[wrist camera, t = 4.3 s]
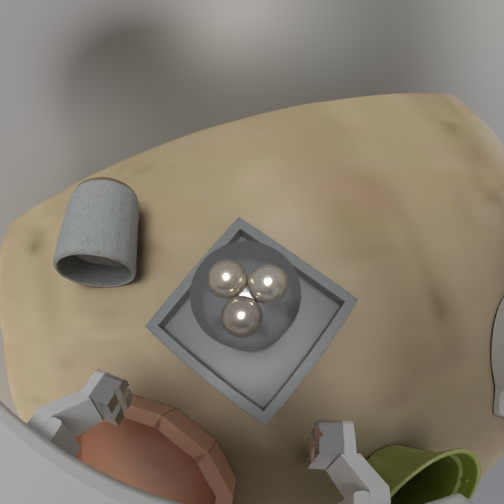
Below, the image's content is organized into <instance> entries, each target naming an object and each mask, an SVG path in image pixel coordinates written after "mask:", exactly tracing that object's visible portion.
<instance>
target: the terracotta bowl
mask: <svg viewBox="0 0 504 504" xmlns="http://www.w3.org/2000/svg"><path fill="white" fill-rule="evenodd" d="M123 412H124V418H123V419H122V421H121V423H120V425H119V426H117V425H114V424H112V423H109V422H107V421H105V420H103V421H102V422H101V423H99V424H97V425H96V426H94V427H92V428H91V429H89V430H87V431H85V432H84V433H82V434H80V435H79V436H77V437H75V439H76V440H77V441H78V442H79V443H80V445H81V449H80V450H79V452H78V454H77V456H76V458H77V459H79V460H80V461H82V462H84V463H86V464H87V465H89V466H91V467H93V468H95V469H97V470H99V471H101V472H103V473H105V474H107V475H109V476H111V477H113V478H115V479H117V480H119V481H121V482H124V483H126V484H128V485H131V486H133V487H136V488H138V489H141V490H143V491H146V492H148V493H151V494H154V495H157V496H160V497H163V498H166V499H169V500H172V501H175V502H178V503H182V504H233V500H234V494H235V488H236V482H237V478H236V476H235V474H234V472H233V471H232V469H231V467H230V465H229V463H228V461H227V459H226V457H225V455H224V453H223V451H222V449H221V447H220V445H219V443H218V441H217V440H216V439H215V438H214V437H213V436H211V435H210V434H209V433H207V432H206V431H205V430H203V429H202V428H201V427H199V426H198V425H197V424H196V423H194V422H193V421H192V420H191V419H189V418H188V417H187V416H186V415H184V414H183V413H182V412H181V411H180V410H179V409H177V408H176V407H172V406H168V405H164V404H161V403H157V402H154V401H150V400H147V399H144V398H141V397H138V396H135V395H132V402H131V405H130V407H129V409H127V410H125V411H123Z"/></svg>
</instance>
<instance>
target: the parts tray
mask: <svg viewBox="0 0 504 504" xmlns="http://www.w3.org/2000/svg"><path fill="white" fill-rule="evenodd" d="M241 241H252V242H258V243H262V244H265V245H268V246H270V247H272V248H274V249H276V250H277V251H279V252H280V253H281V254H283V255H284V256H285V257H286V258H287V259H288V260H289V262H290V263H291V264H292V266H293V267H294V269H295V271H296V273H297V275H298V278H299V281H300V285H301V303H300V308H299V311H298V314H297V316H296V318H295V320H294V322H293V324H292V325H291V327H290V328H289V329H288V330H287V331H286V332H285V334H284V335H283V336H282V337H281V338H280V339H279V340H278V341H277V342H276V343H275V344H274V345H273V346H271V347H270V348H268V349H266V350H263V351H260V352H244V351H240V350H237V349H234V348H231V347H228V346H225V345H222V344H220V343H218V342H217V341H215V340H213V339H212V338H211V337H209V336H208V335H207V334H206V333H205V332H204V331H203V330H202V328H201V327H200V326H199V324H198V323H197V321H196V319H195V317H194V315H193V312H192V308H191V303H190V289H191V283H192V280H193V277H194V275H195V272H196V270H197V269H198V267H199V265H200V264H201V263H202V262H203V260H204V259H205V258H206V257H207V256H208V255H210V254H211V253H212V252H213V251H215V250H217V249H218V248H220V247H222V246H225V245H227V244H230V243H234V242H241ZM357 300H358V299H357V298H356V297H354V296H353V295H351V294H350V293H349V292H347V291H346V290H344V289H343V288H342V287H340V286H339V285H337V284H336V283H334V282H333V281H332V280H330V279H329V278H327V277H326V276H325V275H323V274H322V273H320V272H319V271H317V270H316V269H314V268H313V267H312V266H310V265H309V264H307V263H306V262H304V261H303V260H301V259H300V258H299V257H297V256H296V255H294V254H293V253H291V252H290V251H288V250H287V249H285V248H284V247H283V246H281V245H280V244H278V243H277V242H275V241H274V240H272V239H271V238H269V237H268V236H266V235H265V234H263V233H262V232H260V231H259V230H257V229H256V228H255V227H253V226H252V225H250V224H249V223H247V222H246V221H244V220H243V219H241V218H240V217H238V219H237V220H236V221H235V222H234V223H233V224H232V225H231V226H230V227H229V229H228V230H227V231H226V232H225V233H224V234H223V235H222V236H221V238H220V239H219V240H218V241H217V242H216V243H215V244H214V246H213V247H212V248H211V249H210V250H209V251H208V252H207V254H206V255H205V256H204V257H203V258H202V259H201V260H200V262H199V263H198V264H197V265H196V266H195V267H194V269H193V270H192V271H191V272H190V273H189V274H188V276H187V277H186V278H185V279H184V280H183V281H182V283H181V284H180V285H179V286H178V287H177V288H176V290H175V291H174V292H173V293H172V294H171V296H170V297H169V298H168V299H167V300H166V302H165V303H164V304H163V305H162V306H161V308H160V309H159V310H158V311H157V312H156V314H155V315H154V316H153V317H152V319H151V320H150V321H149V322H148V323H147V325H146V326H145V327H146V328H147V329H148V330H149V331H150V332H152V333H153V334H154V335H155V336H156V337H157V338H158V339H159V340H160V341H161V342H162V343H163V344H164V345H165V346H166V347H167V348H168V349H169V350H171V351H172V352H173V353H174V354H175V355H176V356H177V357H178V358H179V359H181V360H182V361H183V362H184V363H185V364H186V365H187V366H189V367H190V368H191V369H192V370H193V371H194V372H196V373H197V374H198V375H199V376H200V377H202V378H203V379H204V380H205V381H206V382H208V383H209V384H210V385H211V386H213V387H214V388H215V389H216V390H218V391H219V392H220V393H222V394H223V395H224V396H225V397H227V398H228V399H229V400H231V401H232V402H233V403H235V404H236V405H237V406H239V407H240V408H242V409H243V410H244V411H246V412H247V413H249V414H250V415H251V416H253V417H254V418H256V419H257V420H259V421H260V422H262V423H263V424H265V425H266V424H267V423H268V422H269V421H270V420H271V418H272V417H273V416H274V415H275V414H276V413H277V411H278V410H279V409H280V408H281V407H282V405H283V404H284V403H285V402H286V401H287V399H288V398H289V397H290V396H291V394H292V393H293V392H294V391H295V389H296V388H297V387H298V386H299V384H300V383H301V382H302V380H303V379H304V378H305V376H306V375H307V374H308V372H309V371H310V370H311V368H312V367H313V366H314V364H315V363H316V362H317V360H318V359H319V357H320V356H321V355H322V353H323V352H324V350H325V349H326V348H327V346H328V345H329V343H330V342H331V340H332V339H333V337H334V336H335V334H336V333H337V331H338V330H339V328H340V327H341V325H342V324H343V322H344V321H345V319H346V318H347V316H348V314H349V313H350V311H351V310H352V308H353V306H354V305H355V303H356V302H357Z"/></svg>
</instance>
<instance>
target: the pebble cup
mask: <svg viewBox="0 0 504 504" xmlns="http://www.w3.org/2000/svg"><path fill="white" fill-rule="evenodd" d="M190 303H191V308H192V312H193V315H194V317H195V319H196V321H197V323H198V324H199V326H200V327H201V328H202V330H203V331H204V332H205V333H206V334H207V335H208V336H209V337H211V338H212V339H213V340H215V341H217V342H218V343H220V344H222V345H225V346H228V347H231V348H234V349H237V350H240V351H244V352H260V351H263V350H266V349H268V348H270V347H271V346H273V345H274V344H275V343H276V342H277V341H278V340H279V339H280V338H281V337H282V336H283V335H284V334H285V332H286V331H287V330H288V329H289V328H290V327H291V325H292V324H293V322H294V320H295V318H296V316H297V314H298V311H299V308H300V303H301V285H300V281H299V278H298V275H297V273H296V271H295V269H294V267H293V266H292V264H291V263H290V262H289V260H288V259H287V258H286V257H285V256H284V255H283V254H281V253H280V252H279V251H277V250H276V249H274V248H272V247H270V246H268V245H265V244H262V243H258V242H252V241H241V242H234V243H230V244H227V245H225V246H222V247H220V248H218V249H217V250H215V251H213V252H212V253H211V254H210V255H208V256H207V257H206V258H205V259H204V260H203V262H202V263H201V264H200V265H199V267H198V269H197V270H196V272H195V275H194V277H193V280H192V283H191V289H190Z"/></svg>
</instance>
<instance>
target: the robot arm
mask: <svg viewBox="0 0 504 504" xmlns="http://www.w3.org/2000/svg"><path fill="white" fill-rule="evenodd" d="M492 369H493V376H494V381H495V399H494V414H495V415H497V416H501V417H504V298H503V299H502V301H501V303H500V306H499V308H498V311H497V315H496V318H495V323H494V329H493V336H492ZM128 386H129V384H128V382H127V380H124V379H121V378H119V377H116V376H113V375H111V374H109V373H107V372H104V371H102V370H99V369H98V370H96V371H95V372H94V373H93V375H92V376H91V377H90V379H89V380H88V381H87V383H86V384H85V385H84V387H83V388H82V390H81V391H80V392H74V393H72V394H70V395H67V396H65V397H62V398H60V399H57V400H55V401H52V402H50V403H47V404H44V405H42V406H40V407H39V408H38V410H37V411H36V412H35V414H34V415H33V416H32V418H31V419H30V421H29V422H28V423H27V424H26V423H25V422H24V421H23V420H21V419H20V418H19V417H18V416H17V415H15V414H14V413H13V412H12V411H11V410H10V409H9V408H7V407H6V406H5V405H4V404H3V403H2V402H1V401H0V504H182V503H178V502H175V501H172V500H169V499H166V498H163V497H160V496H157V495H154V494H151V493H148V492H146V491H143V490H141V489H138V488H136V487H133V486H131V485H128V484H126V483H124V482H121V481H119V480H117V479H115V478H113V477H111V476H109V475H107V474H105V473H103V472H101V471H99V470H97V469H95V468H93V467H91V466H89V465H87V464H86V463H84V462H82V461H80V460H79V459H77V458H76V456H77V454H78V452H79V450H80V449H81V445H80V443H79V442H78V441H77V440H76V439H75V437H77V436H79V435H80V434H82V433H84V432H85V431H87V430H89V429H91V428H92V427H94V426H96V425H97V424H99V423H101V422H102V421H103V420H105V421H107V422H109V423H112V424H114V425H117V426H119V425H120V423H121V421H122V419H123V418H124V412H123V411H125V410H127V409H129V407H130V405H131V402H132V393H131V391H130V390H129V389H128V388H127V387H128ZM308 448H309V450H310V451H311V452H310V453H309V455H308V456H307V469H326V471H327V473H328V475H329V476H330V478H331V479H332V481H333V482H334V484H335V486H336V487H337V489H338V490H339V492H340V493H341V495H342V496H343V498H344V500H342V501H341V502H339V503H337V504H391V500H390V489H389V486H388V485H387V484H386V482H385V481H384V480H383V479H382V478H381V477H380V476H379V475H378V473H377V472H376V471H375V470H374V469H373V468H372V467H371V465H370V464H369V463H368V462H367V461H366V460H365V458H364V457H363V456H362V455H361V454H360V453H357V449H356V439H355V430H354V423H353V421H340V420H317V421H316V423H315V428H313V429H312V430H311V432H310V434H309V438H308ZM425 504H473V503H472V502H471V501H470V500H468V499H467V498H466V497H465V496H463V495H462V494H460V493H455V494H452V495H449V496H446V497H443V498H440V499H437V500H434V501H431V502H428V503H425Z"/></svg>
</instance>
